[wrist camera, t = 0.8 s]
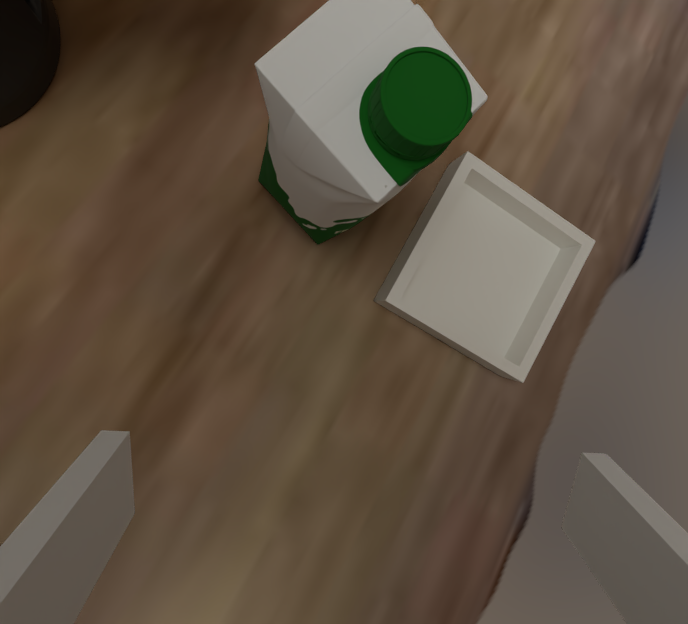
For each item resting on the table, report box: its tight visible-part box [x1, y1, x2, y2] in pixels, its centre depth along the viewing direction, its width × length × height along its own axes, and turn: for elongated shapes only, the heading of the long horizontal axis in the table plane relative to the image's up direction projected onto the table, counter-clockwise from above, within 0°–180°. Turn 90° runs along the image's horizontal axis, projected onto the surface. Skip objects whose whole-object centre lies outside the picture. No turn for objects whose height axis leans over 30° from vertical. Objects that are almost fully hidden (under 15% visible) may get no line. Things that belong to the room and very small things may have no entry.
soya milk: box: [255, 0, 487, 244], centre depth 27 cm, size 9×9×20 cm
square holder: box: [374, 151, 595, 383], centre depth 38 cm, size 14×14×4 cm
